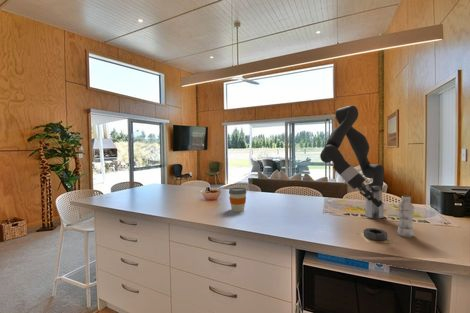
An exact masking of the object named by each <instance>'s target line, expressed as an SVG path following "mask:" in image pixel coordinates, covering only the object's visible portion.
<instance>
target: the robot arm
mask: <svg viewBox="0 0 470 313" xmlns="http://www.w3.org/2000/svg"><path fill="white" fill-rule="evenodd" d="M334 114H335V115H334V116H335V118H336V121H337V123H338V124H339V125H338V126H336V127H335V128H334V129H333V130H332V131H331V133H330V134H329V137H328V139H327V140H326V144H325V145H324V147H323V148H322V150H321V151H320V152H321V153H320V155H319V157H320V160H321V162H323V163H324V164H325V163H326V164H329V163H331V162H332V164H333V165H332V166H333V169H334V170H335V172H336V173H338V175H339V176H340V177H341V178H342V179H343V180H344V181H345V182H346V183H347V185H348V186H349V187H351V189H353V190H355V189H358V191H359V194H360V195H361V196H363V197H364V198H365V201H364V202H365V205H364V206H365V207H364V209H365V211H364V212H365V213H364V214H365V217H367V218H371V219H374V218H373V217H371V208H372V202H373V203H374V204H375V205H376V206H377V207H379V218H378V219H382V218H383V219H384V217H385V216H384V207H385V206H384V201H383V187H384V179H385V168H384V167H383V165H382V164H379V163H378V164H377V163H370V161H369V158H368V155H369V151H370V144H369V142H368V139H367V137H366V136H365V135H364V134H363V133H361V131H359V130H357V129H356V128H355V127H354V126H353V125H354V123H355V122H356V121H357V120H358V118H359V110H358V107H356V105H347V106H344V107H343V106H342V107H340V108H337V109H336V110H335V113H334ZM345 138H347V140H348V142H349V145H350V146H351V149H352V151H353V153H354V154H355V157H356V159H357V162H358V164H359V167H360V170H361V173H362V174H361V173H360V172H359V171H358V170H357V169H356V168H354V167H353V166H352V165H351V164H350V163H349V162H348V161H347V160H346V158H345V157H344V155H343V154H342V153H341V151H340V150H339V148H340V146H341V145H342V144H343V141H344V139H345ZM366 178H367V179H371V180H372V182H371V183H367V184H365V183H364V182H366ZM371 186H380V187H381V190H380V195H379V201H378V200H377V199H376V198H375V197H374V196H373V195H372V190H371Z"/></svg>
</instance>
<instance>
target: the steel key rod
mask: <svg viewBox="0 0 470 313" xmlns="http://www.w3.org/2000/svg"><path fill="white" fill-rule="evenodd" d="M371 190H372V195H373V196H374V197H375V198H376V199H377V200H378V201H379V195H380V190H381V187H380V186H371ZM371 217H373V218H372V219H380V218H379V207H377V206H376V205H375V204H374V203H373V202H372V208H371Z"/></svg>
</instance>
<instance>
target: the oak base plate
mask: <svg viewBox="0 0 470 313" xmlns="http://www.w3.org/2000/svg"><path fill="white" fill-rule="evenodd" d="M356 234H357V235H359V236H360V237H361V238H362V239H363V240H365V241H366V242H367V243H381V244H385V243H386V244H387V243H389V244H396V242H395V241H394V240H392V239H391V238H390V237H388V236H387V240H386V241H373V240H369V239H367V238H366V237H364V232H357V233H356Z"/></svg>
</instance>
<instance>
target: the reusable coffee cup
mask: <svg viewBox="0 0 470 313" xmlns="http://www.w3.org/2000/svg"><path fill="white" fill-rule="evenodd" d="M228 194H229V203H230V207H231V211H232V212H243V211H245V206H246V200H247V188H245V187H231V188H229V190H228Z"/></svg>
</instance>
